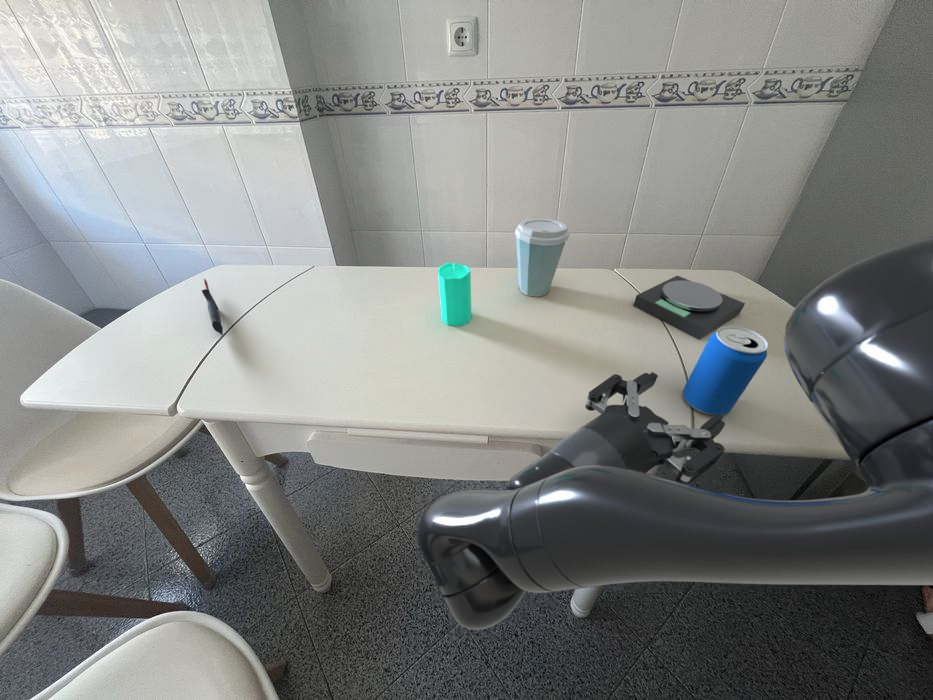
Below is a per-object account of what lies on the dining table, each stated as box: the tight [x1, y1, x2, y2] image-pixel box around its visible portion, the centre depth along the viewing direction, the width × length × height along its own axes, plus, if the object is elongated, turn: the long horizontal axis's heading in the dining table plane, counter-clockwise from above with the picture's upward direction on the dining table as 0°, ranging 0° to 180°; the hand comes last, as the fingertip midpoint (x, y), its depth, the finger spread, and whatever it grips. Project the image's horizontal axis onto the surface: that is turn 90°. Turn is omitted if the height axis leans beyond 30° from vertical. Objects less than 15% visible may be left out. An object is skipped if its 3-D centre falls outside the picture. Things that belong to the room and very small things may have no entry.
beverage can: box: [682, 325, 769, 416], centre depth 50 cm, size 6×6×12 cm
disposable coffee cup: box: [514, 217, 570, 298], centre depth 76 cm, size 11×11×15 cm
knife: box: [201, 278, 224, 336], centre depth 76 cm, size 24×2×5 cm, turn 35°
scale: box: [632, 274, 746, 340], centre depth 72 cm, size 14×14×3 cm
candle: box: [437, 261, 472, 327], centre depth 69 cm, size 6×6×12 cm
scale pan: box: [662, 280, 723, 311], centre depth 71 cm, size 10×10×1 cm
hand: (683, 397), depth 46 cm, fingers open, 8 cm apart
